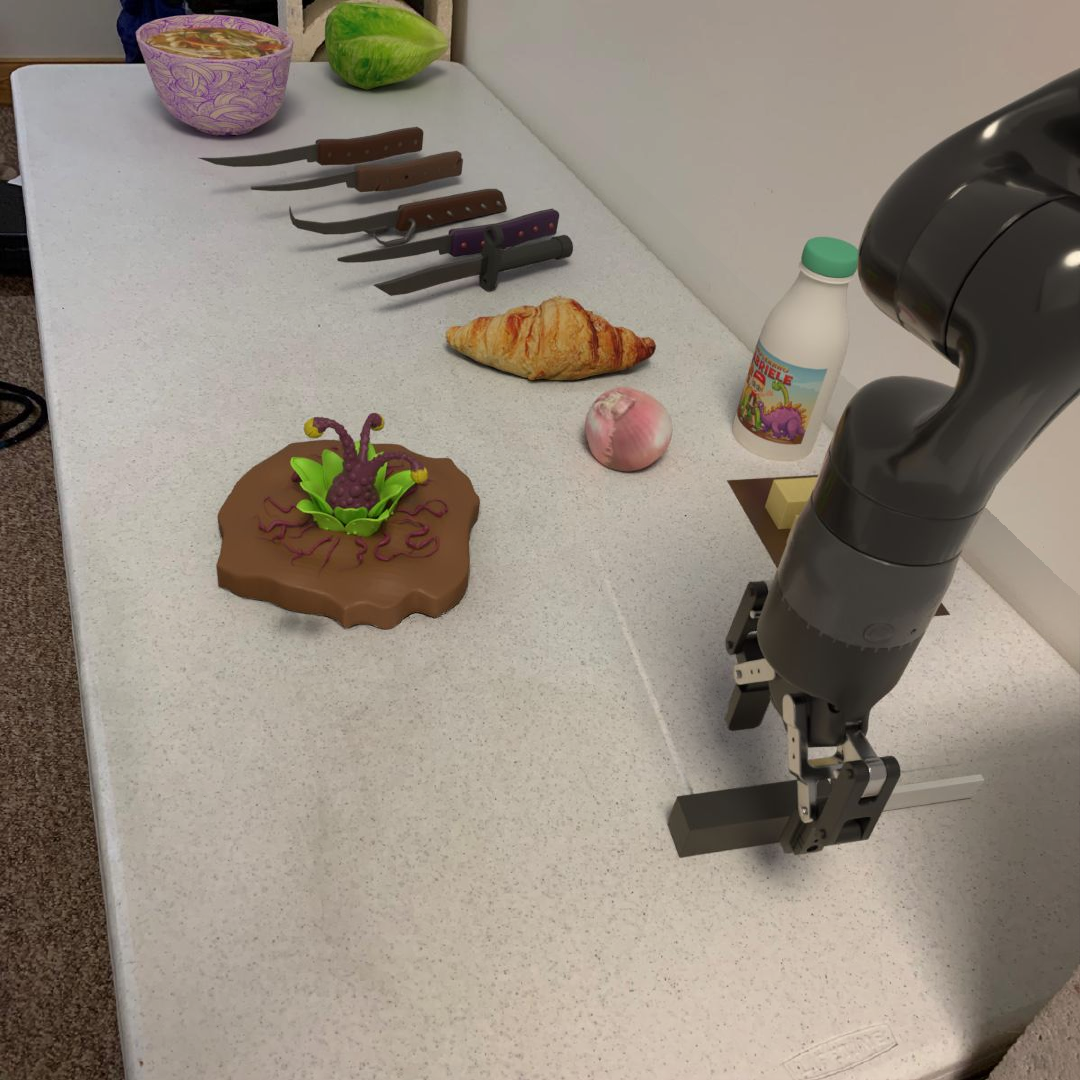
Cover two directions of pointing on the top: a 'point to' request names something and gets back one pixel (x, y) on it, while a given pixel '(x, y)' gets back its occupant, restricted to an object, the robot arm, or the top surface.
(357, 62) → the lettuce
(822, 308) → the milk bottle
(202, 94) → the bowl of food
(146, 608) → the top surface
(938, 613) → the butter board
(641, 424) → the onion
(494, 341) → the croissant
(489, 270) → the knife set
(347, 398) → the top surface
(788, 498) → the butter slice
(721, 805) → the butter knife
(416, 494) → the plant
